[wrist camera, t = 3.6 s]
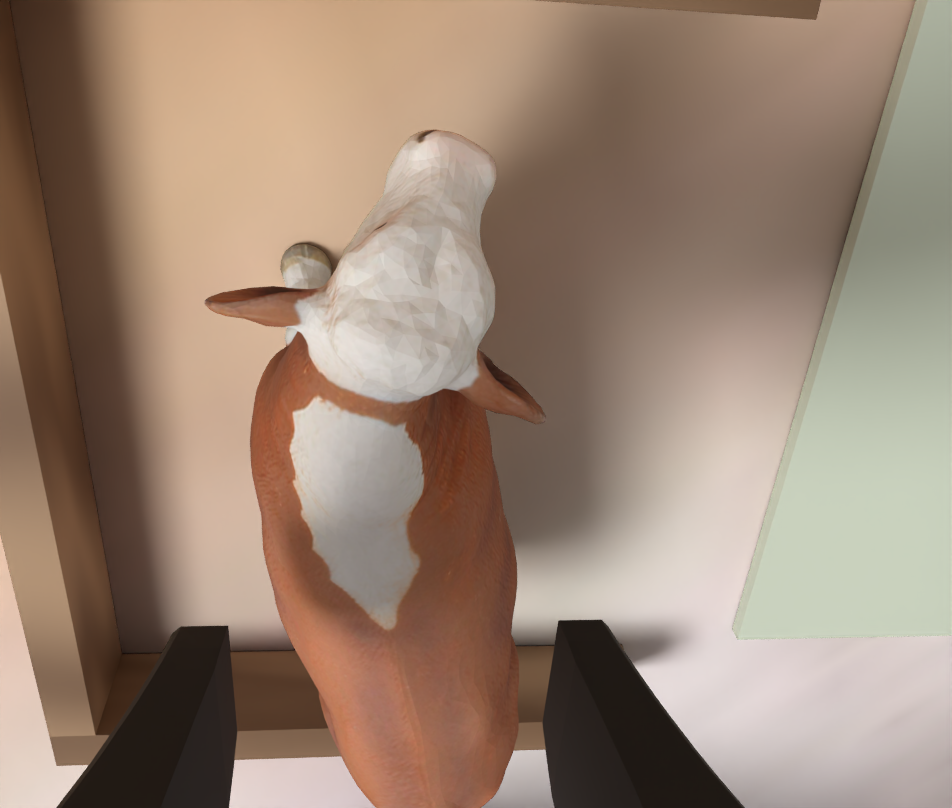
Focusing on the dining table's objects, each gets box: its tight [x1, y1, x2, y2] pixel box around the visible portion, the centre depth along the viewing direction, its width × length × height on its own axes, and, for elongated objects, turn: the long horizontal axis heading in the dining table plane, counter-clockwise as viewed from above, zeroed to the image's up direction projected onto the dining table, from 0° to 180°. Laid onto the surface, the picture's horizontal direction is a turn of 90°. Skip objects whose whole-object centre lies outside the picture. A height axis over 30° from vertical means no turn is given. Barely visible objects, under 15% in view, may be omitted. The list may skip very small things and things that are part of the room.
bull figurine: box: [205, 130, 546, 808], centre depth 16 cm, size 4×13×8 cm, turn 1°
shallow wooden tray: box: [0, 0, 821, 766], centre depth 18 cm, size 18×14×2 cm
